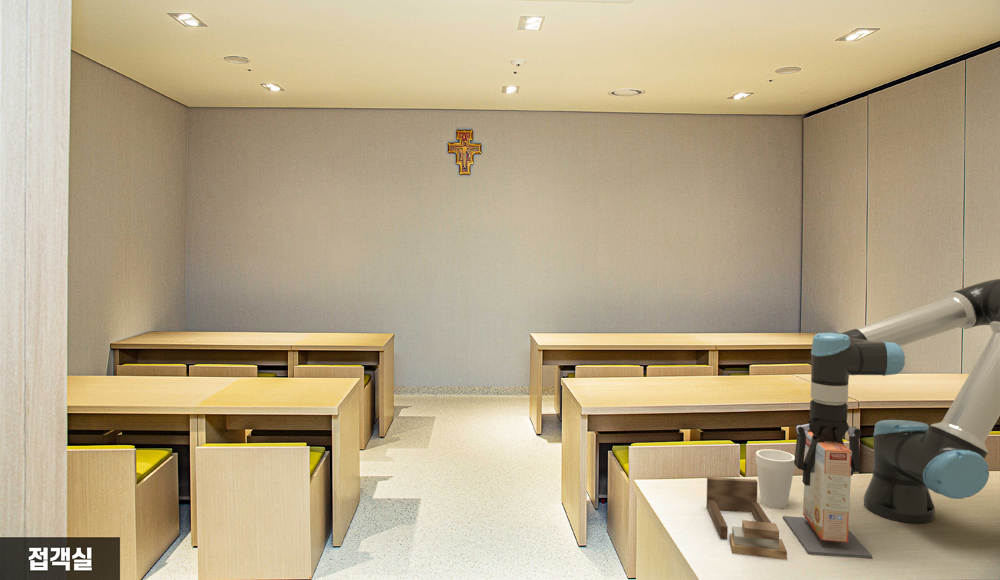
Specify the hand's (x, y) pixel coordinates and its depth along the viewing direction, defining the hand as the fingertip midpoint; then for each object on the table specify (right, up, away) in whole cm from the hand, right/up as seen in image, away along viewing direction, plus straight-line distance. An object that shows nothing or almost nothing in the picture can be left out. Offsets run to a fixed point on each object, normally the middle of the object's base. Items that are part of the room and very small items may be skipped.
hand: (825, 499), depth 140 cm
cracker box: (0, -7, 0) cm, 7 cm away
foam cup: (-3, -8, +19) cm, 21 cm away
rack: (-17, -9, +8) cm, 21 cm away
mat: (0, -9, +1) cm, 9 cm away
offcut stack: (-18, -10, -5) cm, 21 cm away
